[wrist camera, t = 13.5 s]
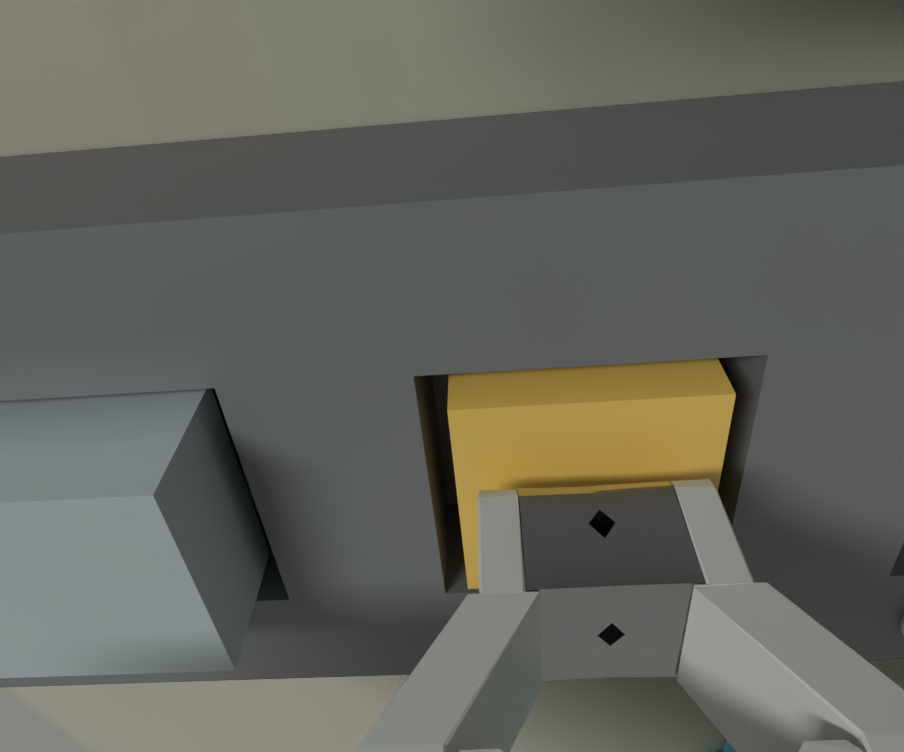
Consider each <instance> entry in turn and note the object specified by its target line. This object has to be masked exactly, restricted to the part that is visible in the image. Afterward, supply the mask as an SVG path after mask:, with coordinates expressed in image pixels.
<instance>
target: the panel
mask: <svg viewBox="0 0 904 752" xmlns="http://www.w3.org/2000/svg"><path fill="white" fill-rule="evenodd" d="M710 358H718V360H719V362H720V364H721V366H722V368H723V369H724V371H725V373H726V375H727V377H728V379H729V381H730V383H731V385H732V387H733V389H734V391H735V393H736V397H735V402H734V408H733V413H732V419H731V424H730V429H729V435H728V440H727V445H726V451H725V456H724V461H723V467H722V472H721V477H720V483H719V488H718V493H719V496H720V498H721V501H722V503H723V506H724V508H725V511H726V513H727V515H728V518H729V520H730V523H731V525H732V528H733V530H734V533H735V535H736V538H737V540H738V542H739V545H740V547H741V550H742V552H743V555H744V557H745V560H746V562H747V565H748V567H749V570H750V572H751V574H752V577H753V579H754V582H768V583H769V584H770V585H771V586H773V587H774V588H775V589H777V590H778V591H779V592H780V593H782V594H783V595H784V596H785V597H787V598H788V599H789V600H791V601H792V602H793V603H794V604H796V605H797V606H798V607H799V608H801V609H802V610H803V611H804V612H806V613H807V614H808V615H810V616H811V617H812V618H813V619H815V620H816V621H817V622H818V623H820V624H821V625H822V626H824V627H825V628H826V629H827V630H829V631H830V632H831V633H832V634H834V635H835V636H836V637H837V638H839V639H840V640H841V641H843V642H844V643H845V644H846V645H848V646H849V647H850V648H851V649H853V650H854V651H855V652H857V653H858V654H859V655H860V656H862V657H863V658H864V659H865V660H881V659H904V81H903V82H891V83H879V84H867V85H855V86H843V87H831V88H819V89H807V90H795V91H783V92H772V93H760V94H748V95H736V96H724V97H712V98H700V99H688V100H676V101H664V102H652V103H640V104H628V105H617V106H605V107H593V108H581V109H569V110H557V111H545V112H533V113H521V114H509V115H497V116H485V117H473V118H462V119H450V120H438V121H426V122H414V123H402V124H390V125H378V126H366V127H354V128H342V129H330V130H318V131H307V132H295V133H283V134H271V135H259V136H247V137H235V138H223V139H211V140H199V141H187V142H175V143H163V144H151V145H140V146H128V147H116V148H104V149H92V150H80V151H68V152H56V153H44V154H32V155H20V156H8V157H0V401H9V400H26V399H43V398H59V397H76V396H93V395H109V394H126V393H143V392H159V391H176V390H193V389H210V388H212V391H213V394H214V397H215V399H216V402H217V405H218V408H219V411H220V413H221V416H222V419H223V422H224V425H225V427H226V430H227V433H228V436H229V439H230V441H231V444H232V447H233V450H234V453H235V455H236V458H237V461H238V464H239V467H240V469H241V472H242V475H243V478H244V481H245V483H246V486H247V489H248V492H249V495H250V497H251V500H252V503H253V506H254V509H255V511H256V514H257V517H258V520H259V522H260V525H261V528H262V531H263V534H264V536H265V539H266V542H267V545H268V548H269V550H270V553H269V557H268V560H267V564H266V567H265V571H264V574H263V578H262V581H261V584H260V588H259V591H258V595H257V598H256V602H255V605H254V609H253V612H252V615H251V619H250V622H249V626H248V629H247V633H246V636H245V640H244V643H243V646H242V650H241V653H240V657H239V660H238V664H237V667H236V671H208V672H178V673H147V674H117V675H86V676H55V677H25V678H0V687H31V686H62V685H94V684H125V683H157V682H188V681H220V680H251V679H283V678H314V677H346V676H377V675H409V674H411V673H412V671H413V670H414V669H415V667H416V666H417V664H418V663H419V662H420V660H421V659H422V657H423V656H424V655H425V653H426V652H427V650H428V649H429V648H430V646H431V645H432V644H433V642H434V641H435V639H436V638H437V637H438V635H439V634H440V632H441V631H442V630H443V628H444V627H445V625H446V624H447V623H448V621H449V620H450V618H451V617H452V616H453V614H454V613H455V611H456V610H457V609H458V607H459V606H460V604H461V603H462V602H463V600H464V599H465V597H466V596H467V595H468V594H479V589H468V585H467V576H466V568H465V559H464V550H463V542H462V533H461V525H460V516H459V507H458V499H457V490H456V482H455V473H454V464H453V456H452V447H451V439H450V430H449V421H448V413H447V403H448V377H449V374H460V373H477V372H493V371H510V370H527V369H543V368H560V367H577V366H594V365H610V364H627V363H644V362H660V361H677V360H694V359H710Z"/></svg>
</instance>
